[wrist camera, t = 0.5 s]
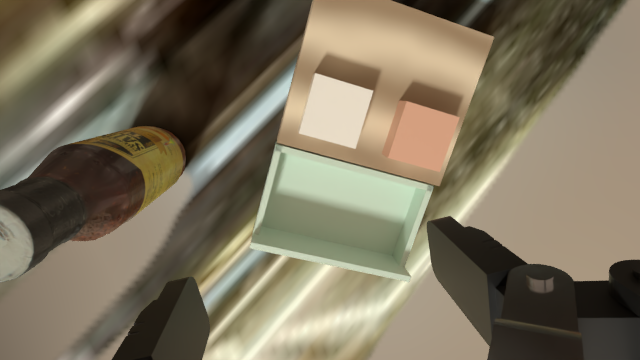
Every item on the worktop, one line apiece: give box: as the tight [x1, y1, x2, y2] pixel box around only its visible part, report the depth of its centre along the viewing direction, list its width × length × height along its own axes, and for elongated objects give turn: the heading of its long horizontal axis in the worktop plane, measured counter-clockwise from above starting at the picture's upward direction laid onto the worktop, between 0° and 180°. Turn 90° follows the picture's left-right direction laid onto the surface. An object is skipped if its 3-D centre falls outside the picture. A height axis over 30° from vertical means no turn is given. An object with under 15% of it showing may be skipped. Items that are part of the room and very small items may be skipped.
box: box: [250, 140, 434, 282], centre depth 35 cm, size 10×16×5 cm, turn 74°
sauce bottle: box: [0, 126, 186, 282], centre depth 25 cm, size 7×6×20 cm
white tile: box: [298, 73, 373, 149], centre depth 30 cm, size 5×5×2 cm
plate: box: [277, 0, 494, 186], centre depth 33 cm, size 14×16×4 cm
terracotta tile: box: [382, 100, 460, 172], centre depth 32 cm, size 5×5×2 cm
